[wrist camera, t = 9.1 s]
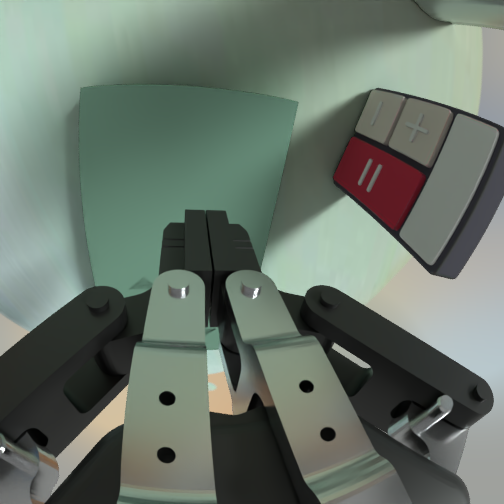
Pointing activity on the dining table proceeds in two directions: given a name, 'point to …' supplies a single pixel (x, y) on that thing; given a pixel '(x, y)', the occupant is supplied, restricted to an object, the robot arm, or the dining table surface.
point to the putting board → (174, 170)
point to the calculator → (425, 176)
